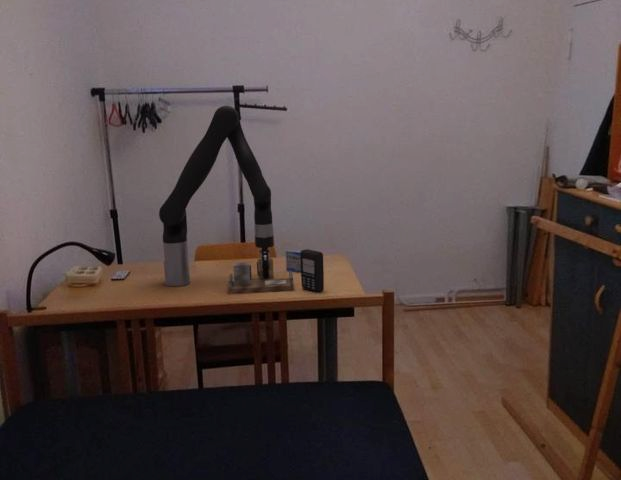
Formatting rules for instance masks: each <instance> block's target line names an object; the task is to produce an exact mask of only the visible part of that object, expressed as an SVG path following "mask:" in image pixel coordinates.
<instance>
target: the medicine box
mask: <svg viewBox="0 0 621 480" xmlns="http://www.w3.org/2000/svg"><path fill="white" fill-rule="evenodd" d="M302 250H303V249H287V250H286V251H285V261H286V262H285V264H286V265H285V267H286V268H285V269H286V271H287V272H289V271H292V273H293V272H294V273H301V259H300V252H301V251H302Z"/></svg>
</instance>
